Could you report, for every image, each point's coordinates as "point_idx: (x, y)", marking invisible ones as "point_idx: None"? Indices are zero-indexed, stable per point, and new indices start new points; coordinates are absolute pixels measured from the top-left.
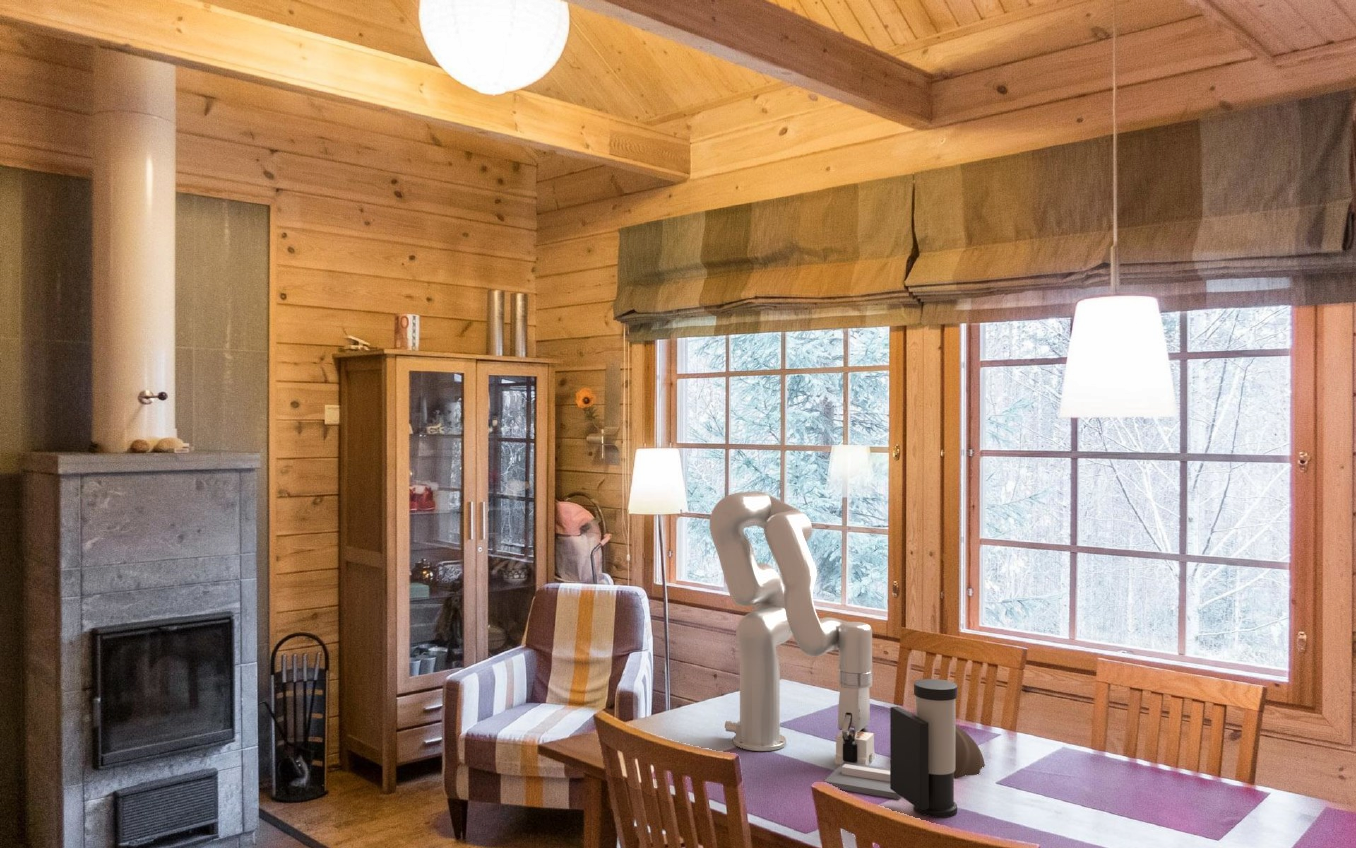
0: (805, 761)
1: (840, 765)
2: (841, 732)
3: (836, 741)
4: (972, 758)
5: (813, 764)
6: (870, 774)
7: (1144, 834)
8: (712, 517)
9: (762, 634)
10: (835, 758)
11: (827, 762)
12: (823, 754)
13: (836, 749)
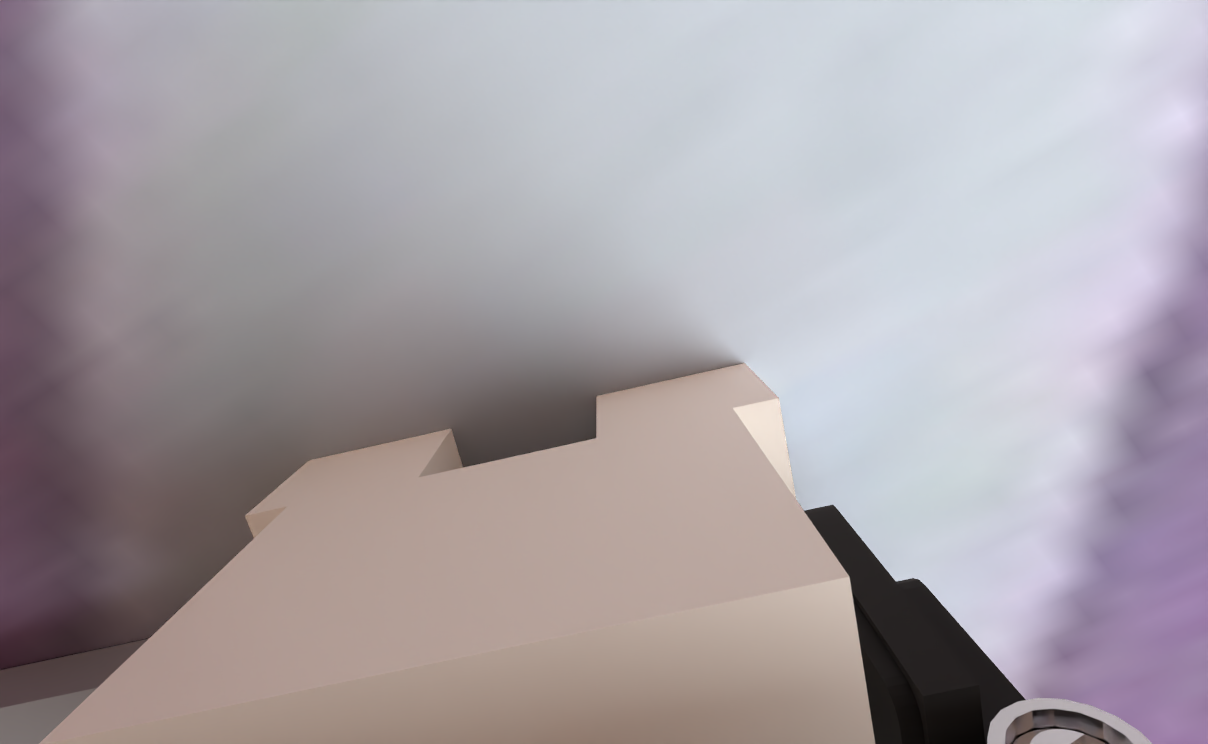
0: (55, 60)
1: (62, 701)
2: (476, 687)
3: (143, 656)
4: None
5: (47, 240)
6: None
7: None
8: None
9: None
10: (275, 494)
11: (276, 351)
12: (546, 102)
13: (247, 555)
